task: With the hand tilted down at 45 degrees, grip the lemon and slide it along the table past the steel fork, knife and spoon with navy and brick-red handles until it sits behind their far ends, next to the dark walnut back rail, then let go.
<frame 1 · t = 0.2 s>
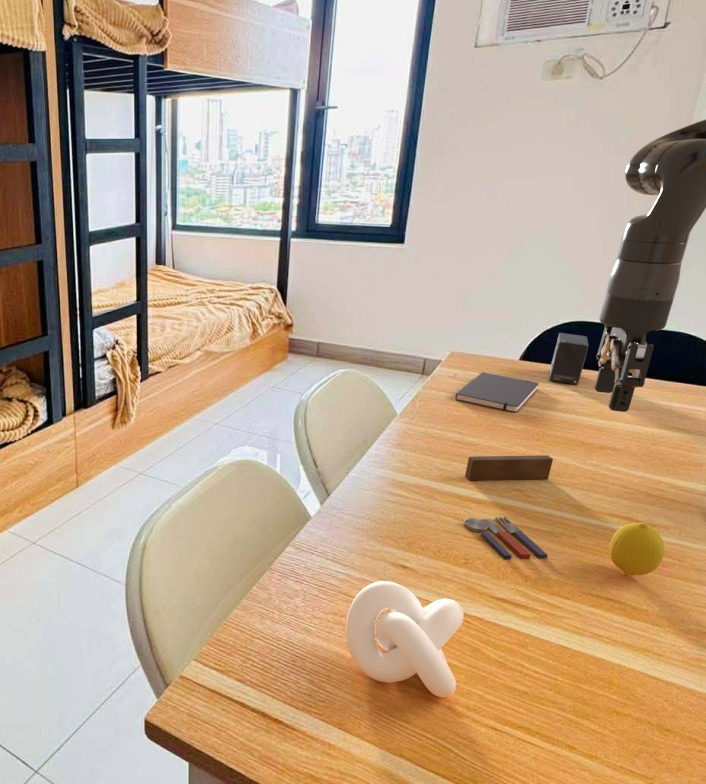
hand: (609, 400, 93), 19 cm above the table, tool pointing down, fingers open, 8 cm apart
back rail: (506, 478, 111), on the table
cutlery: (525, 558, 88), on the table
white knot sculpture: (406, 676, 69), on the table
small box: (563, 378, 161), on the table
notebook: (497, 394, 150), on the table
lemon: (627, 576, 85), on the table
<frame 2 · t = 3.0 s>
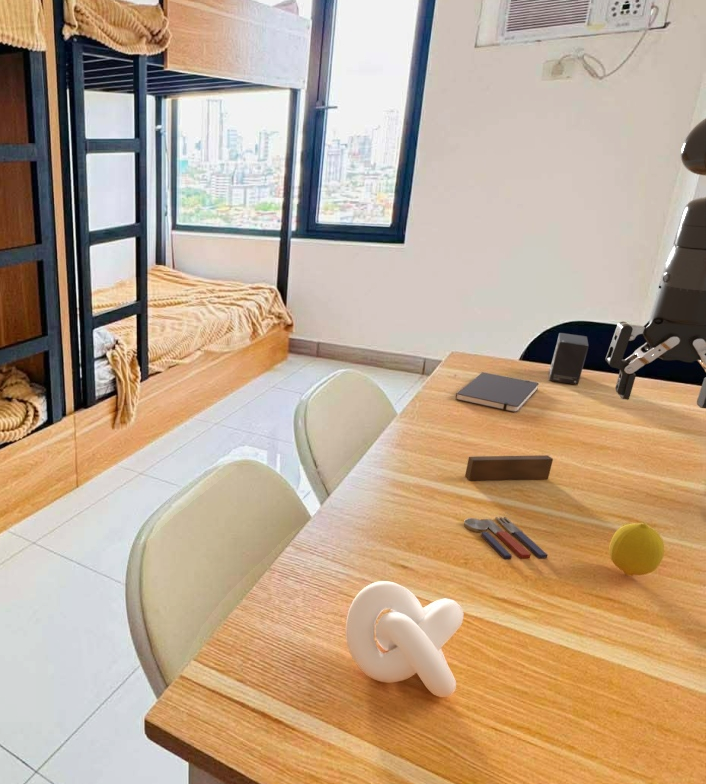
hand: (661, 402, 85), 22 cm above the table, tool pointing down, fingers open, 8 cm apart
nothing on the table moved.
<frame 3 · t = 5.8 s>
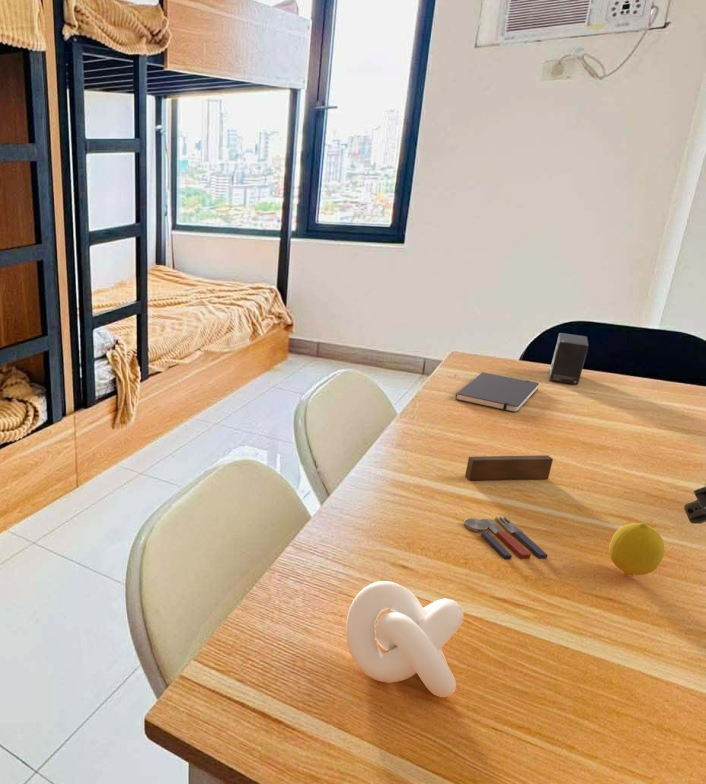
nothing on the table moved.
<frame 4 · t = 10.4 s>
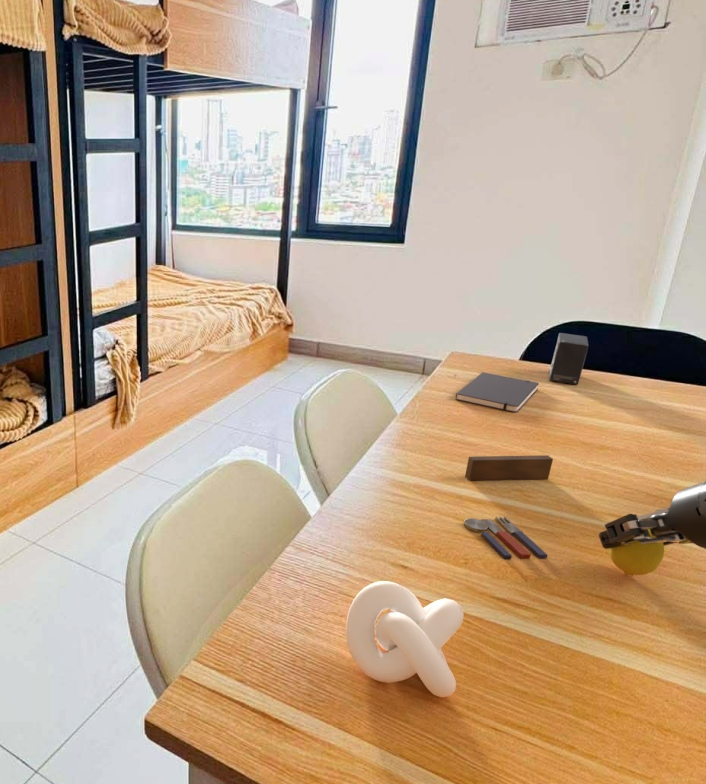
hand: (626, 540, 85), 4 cm above the table, tool tilted 45°, fingers closed on lemon, 5 cm apart
lemon: (627, 576, 85), on the table, touching gripper
everything else where it was.
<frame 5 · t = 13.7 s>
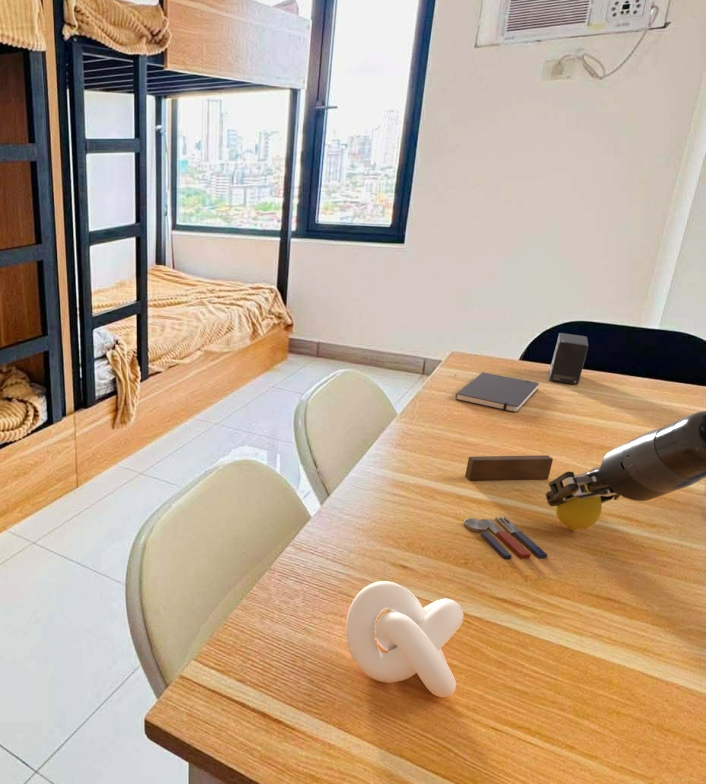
hand: (569, 499, 95), 4 cm above the table, tool tilted 45°, fingers closed on lemon, 5 cm apart
lemon: (571, 531, 95), on the table, touching gripper
everything else where it was.
when the fingers open (4 cm above the table, at t = 17.1 s): lemon stays where it is, on the table.
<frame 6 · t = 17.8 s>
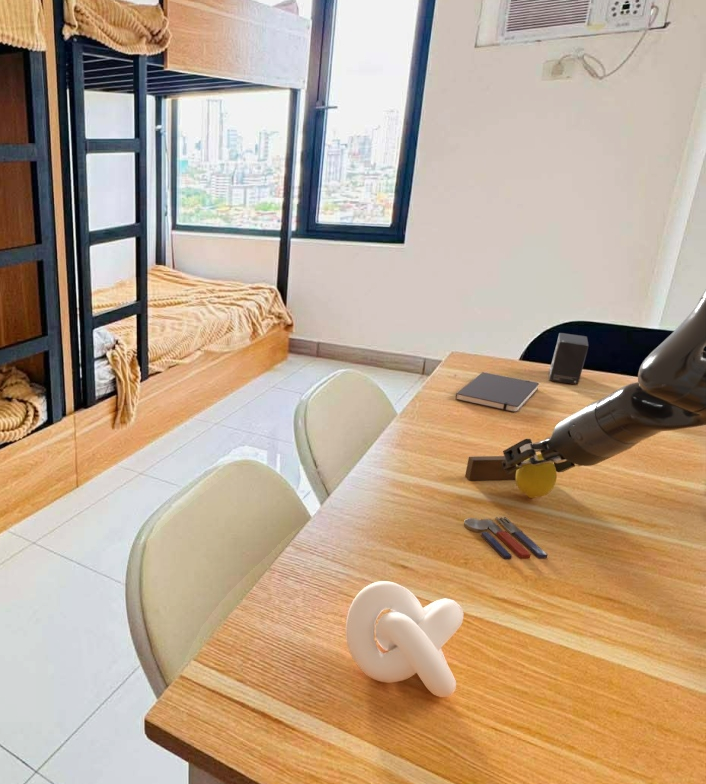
hand: (531, 467, 104), 5 cm above the table, tool tilted 45°, fingers open, 8 cm apart
lemon: (530, 498, 104), on the table
everything else where it was.
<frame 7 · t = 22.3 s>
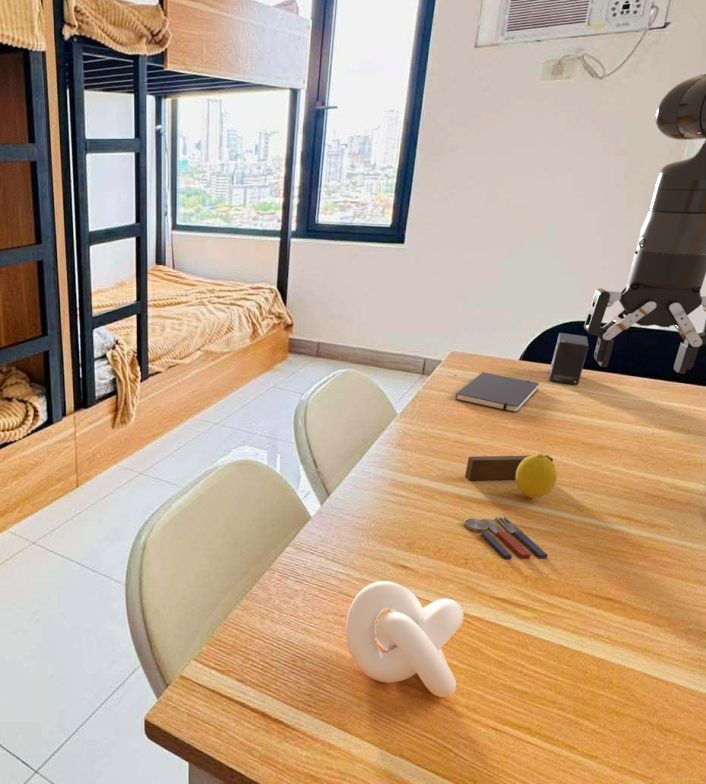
hand: (639, 368, 86), 26 cm above the table, tool pointing down, fingers open, 8 cm apart
nothing on the table moved.
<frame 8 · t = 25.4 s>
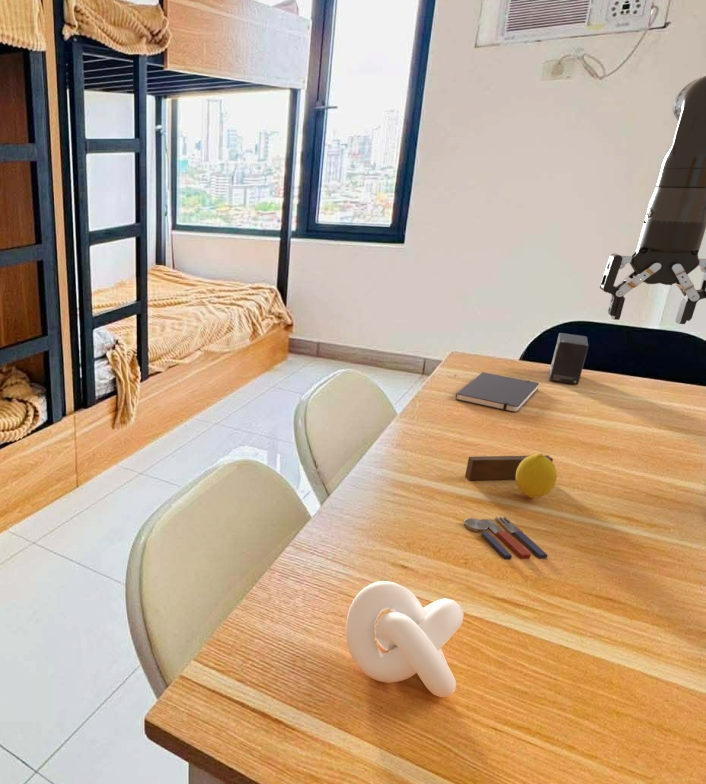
hand: (646, 320, 102), 28 cm above the table, tool pointing down, fingers open, 8 cm apart
nothing on the table moved.
at the end: lemon inside the target area on the table beside the cutlery (0.3 cm from its centre), on the table; lemon 7.0 cm from the back rail (horizontally) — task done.
